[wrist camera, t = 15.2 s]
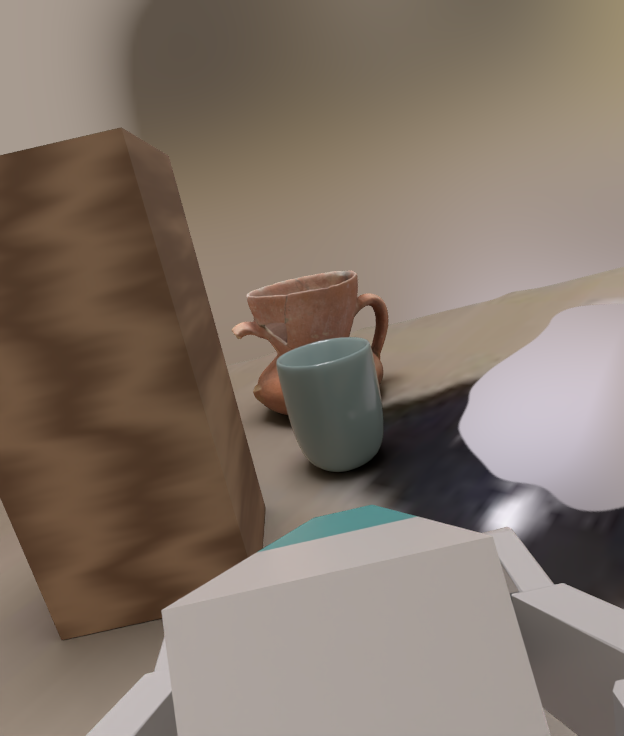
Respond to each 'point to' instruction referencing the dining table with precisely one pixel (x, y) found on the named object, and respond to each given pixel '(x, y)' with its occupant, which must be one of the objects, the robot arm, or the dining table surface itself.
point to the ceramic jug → (307, 321)
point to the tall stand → (114, 388)
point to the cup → (333, 401)
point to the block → (355, 637)
